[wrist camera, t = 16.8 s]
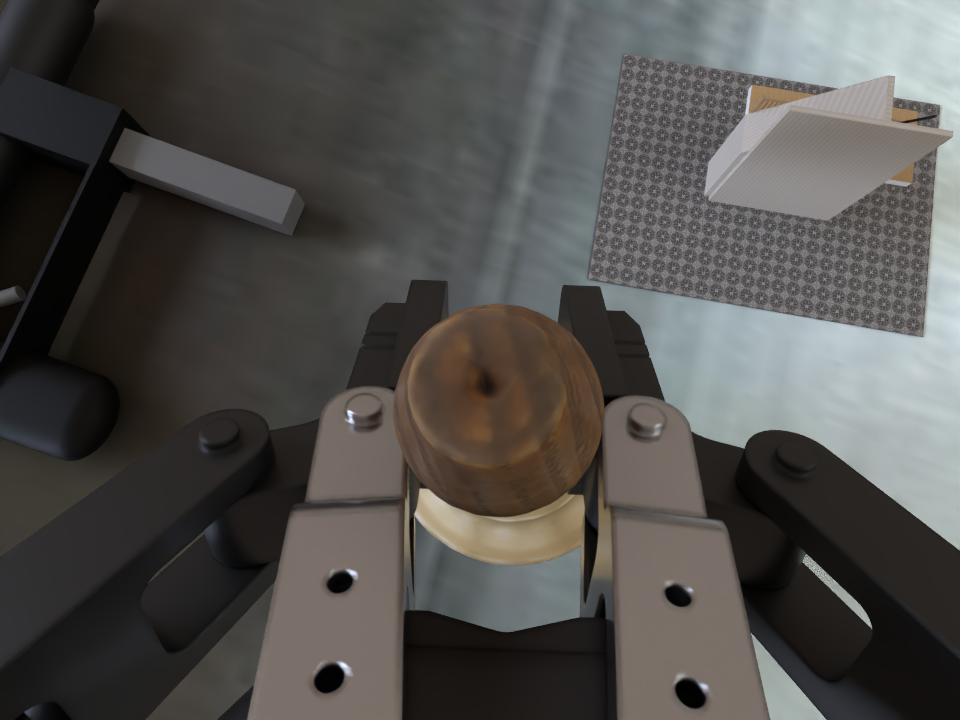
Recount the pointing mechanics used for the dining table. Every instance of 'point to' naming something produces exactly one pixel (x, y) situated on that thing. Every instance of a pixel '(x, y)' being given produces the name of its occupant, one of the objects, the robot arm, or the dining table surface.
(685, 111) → the architectural model
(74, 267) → the toy submachine gun
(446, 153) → the dining table surface
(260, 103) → the dining table surface
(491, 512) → the hand bell
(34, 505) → the dining table surface
